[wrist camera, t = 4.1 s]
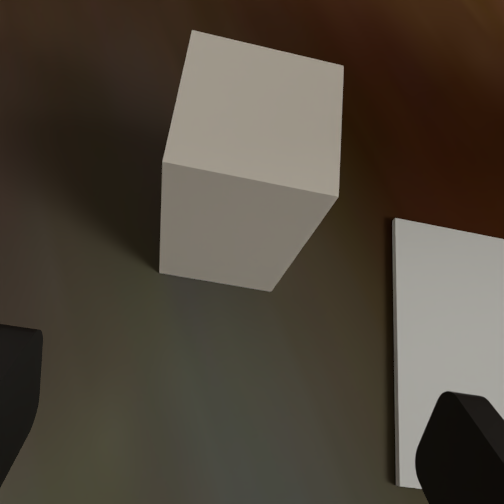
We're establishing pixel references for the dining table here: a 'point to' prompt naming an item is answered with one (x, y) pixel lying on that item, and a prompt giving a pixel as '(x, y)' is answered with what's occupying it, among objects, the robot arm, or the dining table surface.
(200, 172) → the beige block
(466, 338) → the mat
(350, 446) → the dining table surface
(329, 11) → the dining table surface
